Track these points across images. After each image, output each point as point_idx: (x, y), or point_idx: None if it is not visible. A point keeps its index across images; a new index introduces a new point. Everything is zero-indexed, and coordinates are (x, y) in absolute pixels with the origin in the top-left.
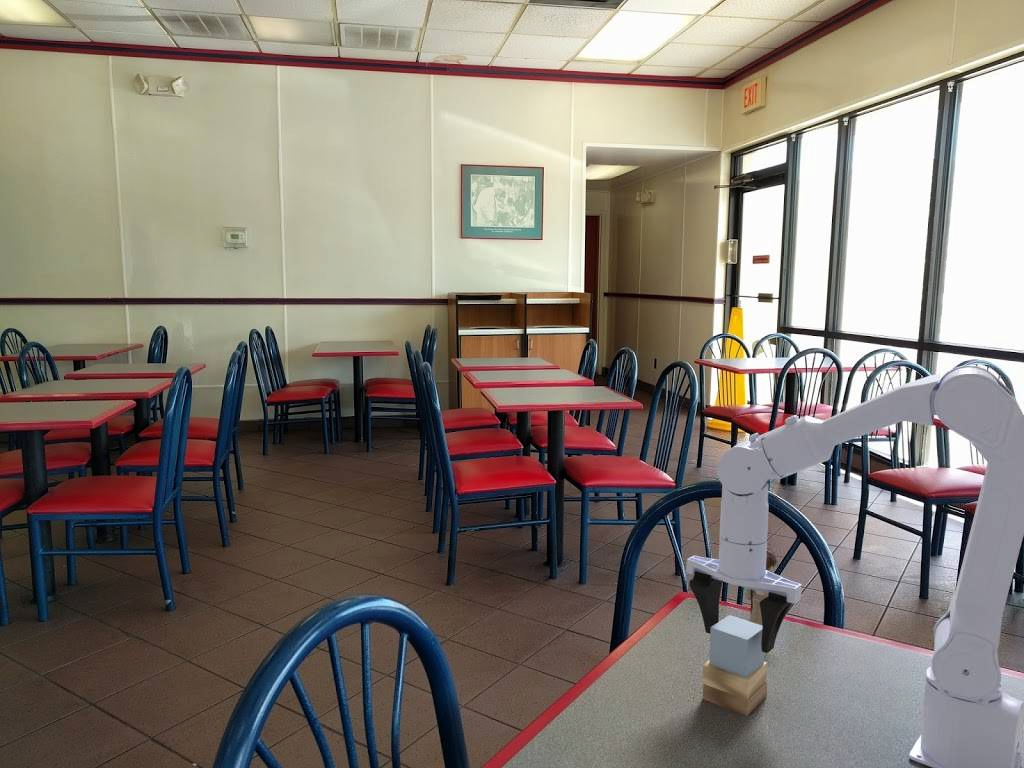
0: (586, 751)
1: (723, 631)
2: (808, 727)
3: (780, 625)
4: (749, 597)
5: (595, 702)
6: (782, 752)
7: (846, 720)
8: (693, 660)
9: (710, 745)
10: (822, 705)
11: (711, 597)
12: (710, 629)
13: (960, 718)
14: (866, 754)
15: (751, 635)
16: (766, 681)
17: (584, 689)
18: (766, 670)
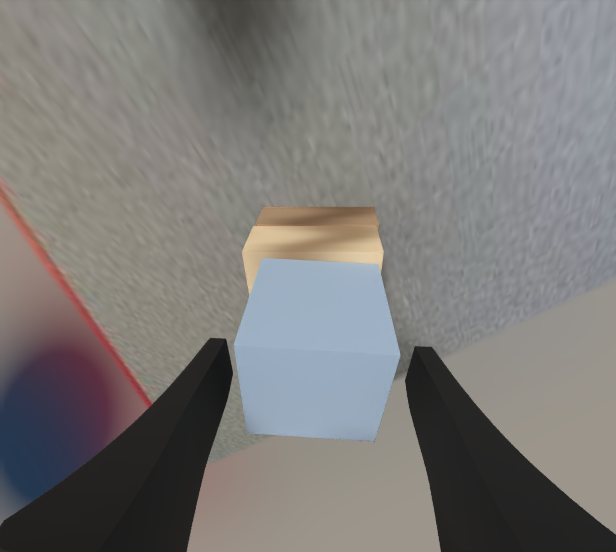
0: (239, 440)
1: (291, 435)
2: (480, 262)
3: (485, 416)
4: None
5: (165, 382)
6: (444, 343)
7: (568, 186)
8: (150, 164)
9: None
10: (509, 156)
11: (182, 504)
12: (228, 382)
13: None
14: (593, 277)
15: (375, 420)
16: (378, 228)
17: (126, 369)
18: (379, 240)
